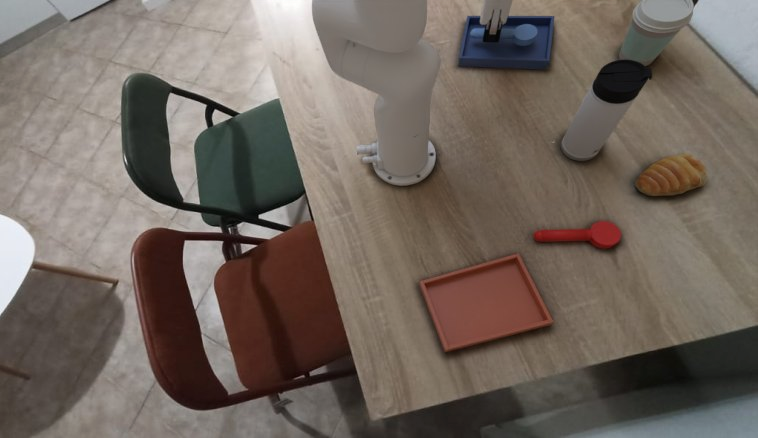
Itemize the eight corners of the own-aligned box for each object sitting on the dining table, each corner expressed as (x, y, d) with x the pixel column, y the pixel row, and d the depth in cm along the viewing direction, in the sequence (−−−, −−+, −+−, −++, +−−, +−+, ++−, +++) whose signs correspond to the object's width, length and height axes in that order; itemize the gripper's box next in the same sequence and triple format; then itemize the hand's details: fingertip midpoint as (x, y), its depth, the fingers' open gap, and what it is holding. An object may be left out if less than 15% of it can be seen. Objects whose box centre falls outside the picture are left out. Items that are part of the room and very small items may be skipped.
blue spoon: (468, 44, 95) (469, 37, 94) (471, 29, 97) (472, 22, 95) (534, 46, 91) (537, 38, 89) (536, 30, 92) (539, 22, 90)
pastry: (650, 207, 75) (661, 197, 71) (623, 177, 78) (633, 165, 74) (705, 186, 74) (719, 174, 70) (676, 155, 77) (688, 143, 74)
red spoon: (534, 249, 77) (536, 245, 75) (530, 226, 79) (533, 222, 77) (620, 248, 73) (625, 244, 72) (614, 224, 75) (618, 219, 73)
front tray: (444, 352, 74) (445, 350, 72) (419, 284, 79) (419, 281, 77) (549, 325, 71) (553, 322, 69) (515, 257, 77) (518, 252, 75)
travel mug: (602, 162, 80) (655, 89, 62) (560, 161, 82) (601, 90, 64) (599, 133, 82) (650, 55, 65) (559, 132, 84) (598, 57, 67)
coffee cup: (669, 68, 84) (706, 18, 73) (617, 76, 86) (646, 28, 75) (654, 35, 87) (687, -17, 77) (605, 44, 89) (630, -7, 79)
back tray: (457, 66, 96) (458, 57, 94) (466, 24, 100) (467, 15, 98) (546, 69, 90) (549, 60, 88) (551, 25, 94) (554, 15, 92)
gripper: (490, -72, 82) (477, 9, 98) (478, -10, 77) (467, 64, 93) (535, -75, 79) (514, 9, 96) (526, -11, 74) (506, 66, 90)
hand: (491, 36), depth 94 cm, fingers closed on blue spoon, 2 cm apart
